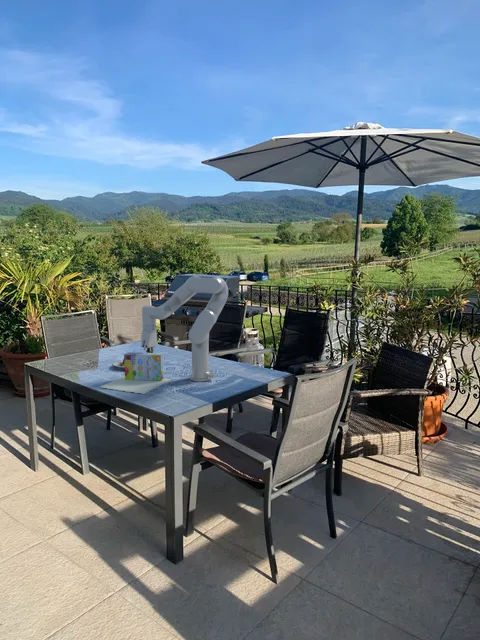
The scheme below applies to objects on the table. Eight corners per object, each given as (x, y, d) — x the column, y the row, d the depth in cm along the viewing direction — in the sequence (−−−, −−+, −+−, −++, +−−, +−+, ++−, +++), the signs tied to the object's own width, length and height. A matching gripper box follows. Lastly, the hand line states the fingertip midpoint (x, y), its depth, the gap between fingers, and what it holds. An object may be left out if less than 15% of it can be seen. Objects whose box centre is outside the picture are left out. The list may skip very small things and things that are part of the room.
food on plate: (104, 369, 265) (103, 359, 264) (128, 360, 288) (128, 351, 287) (138, 373, 256) (138, 363, 255) (161, 364, 278) (160, 354, 277)
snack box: (163, 378, 243) (163, 352, 241) (161, 381, 237) (160, 355, 235) (128, 377, 245) (127, 351, 243) (124, 380, 240) (123, 354, 237)
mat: (171, 380, 242) (171, 379, 242) (143, 394, 217) (143, 393, 217) (130, 374, 252) (130, 373, 252) (99, 388, 227) (99, 386, 227)
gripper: (151, 324, 251) (152, 355, 254) (136, 329, 237) (137, 360, 240) (162, 325, 248) (162, 356, 251) (147, 329, 235) (148, 362, 237)
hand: (150, 358), depth 246 cm, fingers closed
